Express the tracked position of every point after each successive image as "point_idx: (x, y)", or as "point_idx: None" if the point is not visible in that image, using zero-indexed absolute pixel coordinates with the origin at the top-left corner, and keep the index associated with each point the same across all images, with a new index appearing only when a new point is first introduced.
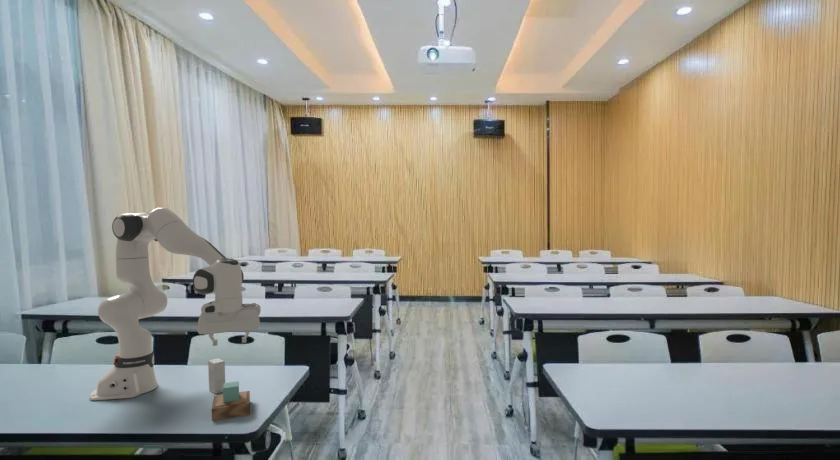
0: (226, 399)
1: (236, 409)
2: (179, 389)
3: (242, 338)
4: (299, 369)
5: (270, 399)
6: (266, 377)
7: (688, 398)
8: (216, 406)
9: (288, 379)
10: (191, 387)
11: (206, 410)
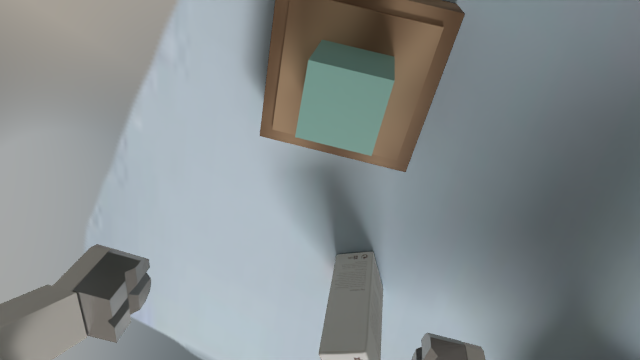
0: (378, 57)
1: None
2: None
3: (104, 297)
4: None
5: (195, 86)
6: (197, 276)
7: None
8: (437, 25)
9: (127, 222)
10: None
11: (441, 131)
